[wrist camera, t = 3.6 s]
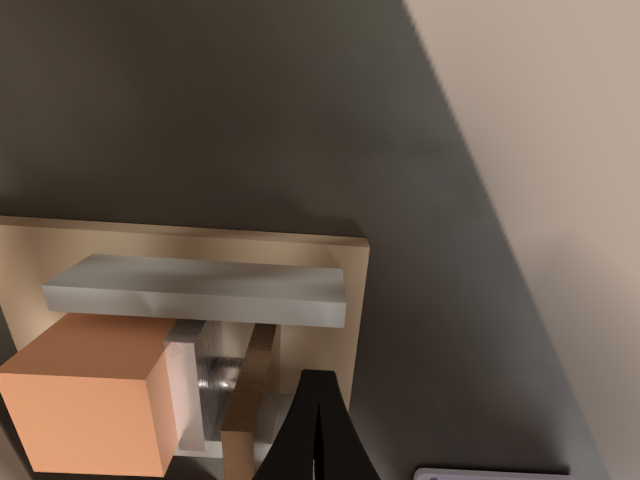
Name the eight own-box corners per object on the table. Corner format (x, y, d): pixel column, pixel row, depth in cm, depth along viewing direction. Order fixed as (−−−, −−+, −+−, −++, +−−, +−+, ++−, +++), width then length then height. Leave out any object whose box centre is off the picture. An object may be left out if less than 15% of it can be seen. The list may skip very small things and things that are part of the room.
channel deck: (366, 237, 13) (380, 278, 10) (345, 410, 17) (350, 479, 14) (-6, 215, 13) (-114, 248, 10) (55, 394, 17) (-9, 461, 14)
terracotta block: (198, 298, 13) (145, 380, 9) (206, 377, 15) (163, 477, 11) (93, 292, 13) (-8, 372, 9) (112, 373, 15) (33, 471, 11)
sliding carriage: (281, 300, 13) (253, 426, 8) (279, 395, 15) (256, 547, 10) (195, 295, 13) (108, 419, 8) (204, 390, 15) (140, 541, 10)
